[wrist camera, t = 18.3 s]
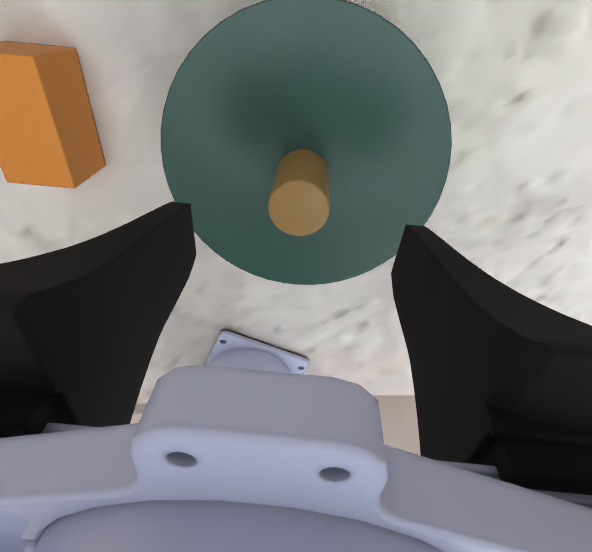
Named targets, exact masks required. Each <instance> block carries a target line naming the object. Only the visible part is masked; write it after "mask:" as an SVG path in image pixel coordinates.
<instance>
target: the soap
mask: <svg viewBox="0 0 592 552" xmlns="http://www.w3.org/2000/svg"><path fill="white" fill-rule="evenodd" d="M104 166H105V161H104V157H103V153H102V150H101V146H100V142H99V138H98V134H97V130H96V126H95V122H94V118H93V114H92V110H91V106H90V102H89V98H88V94H87V90H86V86H85V82H84V78H83V74H82V71H81V67H80V63H79V59H78V55H77V51H76V48H72V47H61V46H51V45H40V44H30V43H19V42H8V41H2V42H0V167H1V169H2V171H3V173H4V176H5V178H6V180H7V182H11V183H21V184H32V185H42V186H53V187H63V188H76V187H78V186H79V185H80V184H82V183H83V182H84V181H86V180H87V179H88V178H90V177H91V176H92V175H93V174H95V173H96V172H97V171H99V170H100V169H101V168H103V167H104Z"/></svg>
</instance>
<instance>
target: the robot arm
mask: <svg viewBox="0 0 592 552" xmlns="http://www.w3.org/2000/svg"><path fill="white" fill-rule="evenodd" d="M195 257H196V247H195V238H194V229H193V220H192V212H191V204H190V203H180V202H170V203H168V204H165V205H163V206H161V207H159V208H157V209H155V210H153V211H151V212H149V213H147V214H145V215H143V216H141V217H139V218H137V219H135V220H133V221H131V222H129V223H127V224H125V225H122V226H120V227H118V228H116V229H114V230H111V231H109V232H107V233H105V234H103V235H100V236H98V237H95V238H93V239H90V240H87V241H85V242H82V243H79V244H76V245H73V246H70V247H67V248H64V249H60V250H56V251H53V252H49V253H45V254H42V255H38V256H34V257H30V258H26V259H21V260H17V261H12V262H7V263H2V264H0V552H592V326H591V325H588V324H586V323H583V322H581V321H578V320H576V319H573V318H571V317H568V316H566V315H564V314H561V313H559V312H557V311H555V310H552V309H550V308H548V307H546V306H544V305H542V304H540V303H538V302H536V301H534V300H532V299H530V298H528V297H526V296H524V295H522V294H520V293H518V292H516V291H515V290H513V289H511V288H510V287H508V286H506V285H504V284H503V283H501V282H499V281H498V280H496V279H495V278H493V277H491V276H490V275H488V274H487V273H486V272H484V271H483V270H481V269H480V268H478V267H477V266H476V265H474V264H473V263H471V262H470V261H469V260H467V259H466V258H465V257H464V256H462V255H461V254H460V253H458V252H457V251H456V250H455V249H453V248H452V247H451V246H450V245H448V244H447V243H446V242H445V241H444V240H442V239H441V238H440V237H439V236H437V235H436V234H435V233H434V232H432V231H431V230H430V229H428V228H427V227H425V226H420V225H409V224H406V225H405V228H404V232H403V235H402V238H401V242H400V245H399V249H398V252H397V255H396V259H395V262H394V265H393V269H392V272H391V277H392V288H393V296H394V301H395V305H396V308H397V312H398V316H399V320H400V324H401V327H402V331H403V335H404V338H405V342H406V346H407V349H408V354H409V358H410V364H411V371H412V378H413V385H414V392H415V401H416V409H417V417H418V429H419V440H420V452H421V456H420V455H417V454H413V453H410V452H407V451H404V450H400V449H397V448H394V447H391V446H387V445H384V441H383V434H382V426H381V419H380V412H379V404H378V400H377V399H376V398H374V397H373V396H372V395H371V394H370V393H369V392H368V391H366V390H365V389H364V388H363V387H362V386H360V385H358V384H355V383H352V382H348V381H345V380H341V379H337V378H334V377H326V376H315V375H305V374H303V373H304V371H305V370H306V369H307V367H308V366H309V360H308V359H307V358H304V357H301V356H298V355H295V354H293V353H290V352H287V351H284V350H281V349H278V348H275V347H272V346H270V345H267V344H264V343H261V342H258V341H255V340H252V339H249V338H246V337H244V336H241V335H238V334H235V333H232V332H229V331H221V332H220V334H219V336H218V338H217V340H216V343H215V345H214V347H213V349H212V351H211V353H210V355H209V357H208V360H207V362H206V364H205V365H198V366H185V367H178V368H175V369H173V370H172V371H170V372H169V373H167V374H165V375H164V376H162V377H161V378H159V379H158V380H157V382H156V385H155V387H154V389H153V392H152V394H151V396H150V398H149V401H148V403H147V405H146V408H145V410H144V412H143V414H142V417H141V419H140V421H139V423H135V424H130V421H131V418H132V415H133V412H134V408H135V405H136V402H137V399H138V396H139V392H140V389H141V386H142V383H143V380H144V377H145V374H146V371H147V369H148V366H149V363H150V360H151V357H152V355H153V352H154V349H155V346H156V344H157V341H158V338H159V336H160V334H161V332H162V329H163V327H164V325H165V323H166V321H167V319H168V317H169V316H170V314H171V312H172V310H173V308H174V306H175V304H176V302H177V300H178V298H179V296H180V294H181V292H182V290H183V288H184V286H185V284H186V282H187V280H188V278H189V276H190V273H191V270H192V267H193V264H194V260H195ZM222 339H223V340H222Z"/></svg>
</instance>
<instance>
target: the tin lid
mask: <svg viewBox="0 0 592 552" xmlns="http://www.w3.org/2000/svg"><path fill="white" fill-rule="evenodd" d="M451 145H452V142H451V123H450V118H449V113H448V107H447V103H446V100H445V97H444V94H443V91H442V88H441V85H440V83H439V81H438V79H437V77H436V75H435V73H434V71H433V69H432V67H431V66H430V64H429V62H428V61H427V60H426V58H425V57H424V56H423V54H422V53H421V51H420V50H419V49H418V47H417V46H416V45H415V44H414V43H413V42H412V41H411V40H410V39H409V38H408V37H407V36H406V35H405V34H404V33H403V32H402V31H401V30H400V29H399V28H397V27H396V26H394V25H393V24H392V23H390V22H389V21H387V20H386V19H385V18H383V17H382V16H380V15H378V14H376V13H374V12H372V11H370V10H368V9H366V8H364V7H362V6H360V5H358V4H354V3H351V2H347V1H344V0H265V1H262V2H259V3H257V4H254V5H251V6H249V7H246V8H244V9H241V10H240V11H238V12H236V13H234V14H233V15H231V16H229V17H228V18H226V19H224V20H223V21H221V22H220V23H219V24H217V25H216V26H215V27H214V28H213V29H212V30H210V31H209V32H208V33H207V34H206V35H204V36H203V37H202V39H201V40H200V41H199V42H198V43H197V44H196V45H195V47H194V48H193V49H192V50H191V51H190V52H189V54H188V55H187V57H186V58H185V60H184V62H183V63H182V65H181V66H180V68H179V69H178V71H177V73H176V76H175V78H174V80H173V82H172V85H171V87H170V89H169V92H168V96H167V99H166V103H165V106H164V110H163V117H162V125H161V153H162V160H163V167H164V171H165V175H166V179H167V183H168V186H169V188H170V191H171V193H172V196H173V198H174V201H175V202H180V203H190V204H191V212H192V220H193V229H194V232H195V233H196V234H197V235H198V236H199V237H200V239H201V240H202V241H203V242H204V243H205V244H206V245H208V246H209V247H210V248H211V249H212V250H213V251H214V252H215V253H217V254H218V255H220V256H221V257H222V258H224V259H225V260H226V261H228V262H230V263H231V264H233V265H235V266H237V267H238V268H240V269H242V270H244V271H247V272H249V273H251V274H253V275H256V276H259V277H262V278H265V279H268V280H273V281H277V282H282V283H289V284H300V285H315V284H325V283H332V282H337V281H342V280H345V279H349V278H352V277H355V276H358V275H360V274H363V273H365V272H367V271H370V270H372V269H374V268H375V267H377V266H379V265H381V264H383V263H384V262H386V261H387V260H389V259H390V258H391V257H393V256H394V255H396V254H397V252H398V249H399V245H400V242H401V238H402V235H403V232H404V228H405V225H406V224H409V225H420V226H424V224H425V223H426V222H427V220H428V219H429V217H430V216H431V214H432V212H433V210H434V208H435V206H436V204H437V202H438V201H439V198H440V196H441V193H442V190H443V188H444V185H445V182H446V178H447V174H448V169H449V165H450V156H451Z"/></svg>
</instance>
